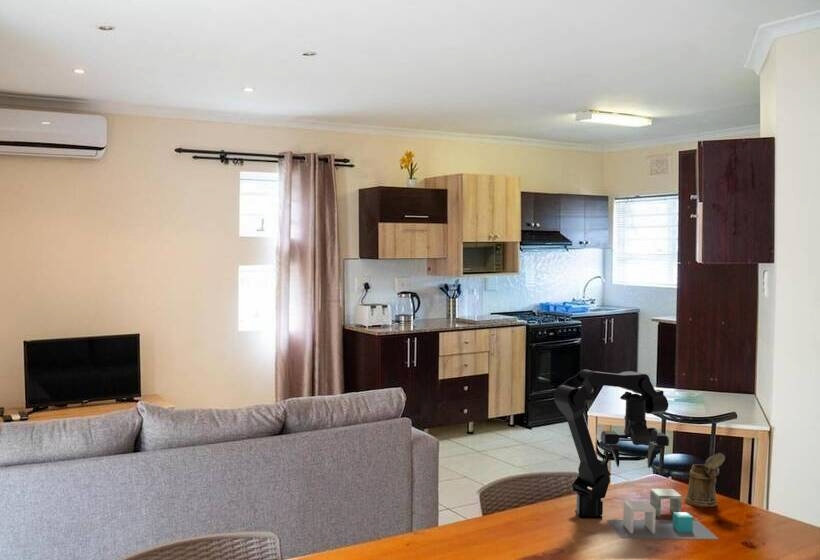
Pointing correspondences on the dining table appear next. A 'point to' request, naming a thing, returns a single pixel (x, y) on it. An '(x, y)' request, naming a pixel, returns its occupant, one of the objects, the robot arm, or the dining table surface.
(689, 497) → the wooden mug
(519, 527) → the dining table surface
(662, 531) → the mat
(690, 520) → the cube
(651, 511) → the cover
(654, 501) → the cover
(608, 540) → the dining table surface
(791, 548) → the dining table surface
